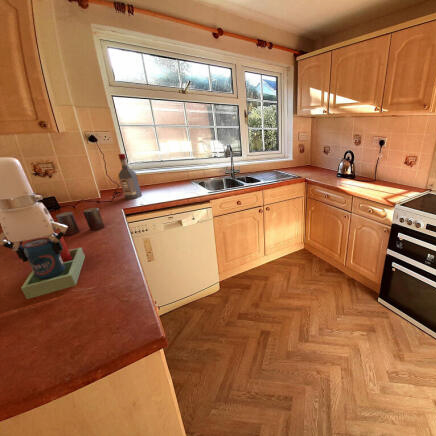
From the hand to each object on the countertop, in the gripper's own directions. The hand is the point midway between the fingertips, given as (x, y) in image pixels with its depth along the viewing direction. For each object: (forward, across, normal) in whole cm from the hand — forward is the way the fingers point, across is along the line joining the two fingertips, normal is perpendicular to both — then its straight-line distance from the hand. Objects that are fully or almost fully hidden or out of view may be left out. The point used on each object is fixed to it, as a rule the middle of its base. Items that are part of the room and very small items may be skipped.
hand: (43, 255), depth 76 cm
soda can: (+7, 0, 0) cm, 7 cm away
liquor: (+11, -24, -104) cm, 108 cm away
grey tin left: (+11, +3, -50) cm, 51 cm away
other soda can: (+10, 0, -10) cm, 15 cm away
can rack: (+11, 0, -5) cm, 12 cm away
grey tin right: (+11, -7, -50) cm, 51 cm away
